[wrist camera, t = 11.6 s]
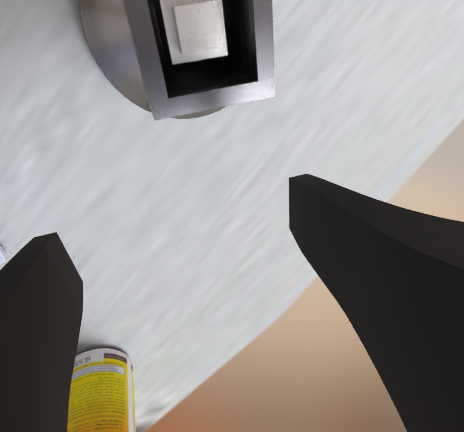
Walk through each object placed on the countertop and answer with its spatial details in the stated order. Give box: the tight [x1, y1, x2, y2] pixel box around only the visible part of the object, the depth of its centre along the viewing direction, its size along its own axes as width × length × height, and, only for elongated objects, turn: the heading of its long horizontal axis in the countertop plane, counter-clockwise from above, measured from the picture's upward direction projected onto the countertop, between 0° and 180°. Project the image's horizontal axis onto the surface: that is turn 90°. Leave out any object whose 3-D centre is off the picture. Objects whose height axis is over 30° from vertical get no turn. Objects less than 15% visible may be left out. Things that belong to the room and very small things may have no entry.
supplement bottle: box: [67, 348, 135, 432], centre depth 24 cm, size 6×6×10 cm
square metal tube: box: [122, 0, 275, 120], centre depth 14 cm, size 5×5×5 cm
